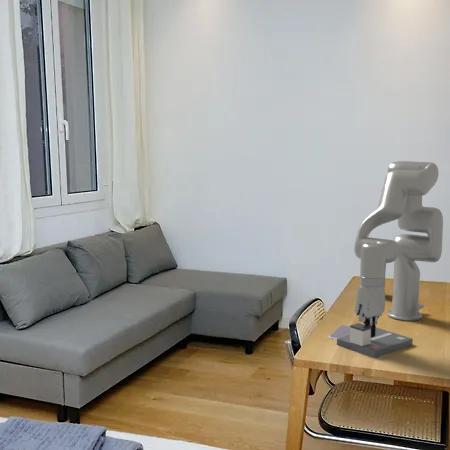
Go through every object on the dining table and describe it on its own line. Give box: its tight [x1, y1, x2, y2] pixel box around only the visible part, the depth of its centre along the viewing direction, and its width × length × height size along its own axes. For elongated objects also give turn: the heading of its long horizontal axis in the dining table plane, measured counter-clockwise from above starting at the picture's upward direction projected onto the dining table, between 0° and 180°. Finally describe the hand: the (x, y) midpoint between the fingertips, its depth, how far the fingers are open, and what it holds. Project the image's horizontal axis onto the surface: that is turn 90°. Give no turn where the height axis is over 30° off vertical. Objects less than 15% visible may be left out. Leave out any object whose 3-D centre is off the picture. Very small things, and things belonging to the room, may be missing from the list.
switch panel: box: [336, 326, 414, 359], centre depth 195 cm, size 20×15×2 cm
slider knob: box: [349, 322, 372, 346], centre depth 190 cm, size 4×5×6 cm
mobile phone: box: [328, 325, 350, 341], centre depth 206 cm, size 8×1×15 cm
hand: (369, 336), depth 193 cm, fingers closed
